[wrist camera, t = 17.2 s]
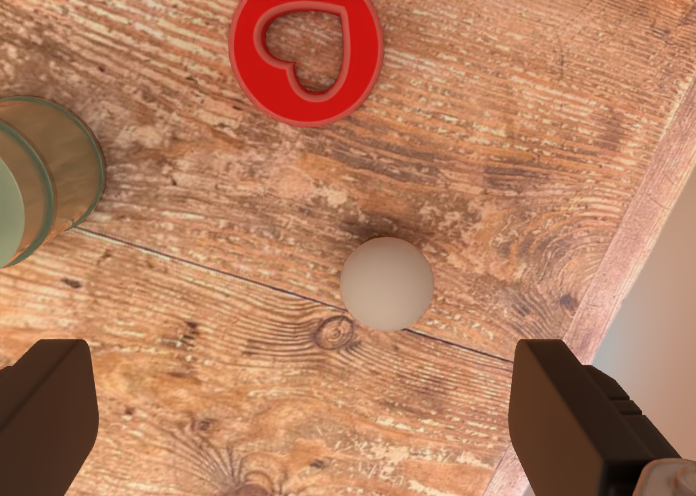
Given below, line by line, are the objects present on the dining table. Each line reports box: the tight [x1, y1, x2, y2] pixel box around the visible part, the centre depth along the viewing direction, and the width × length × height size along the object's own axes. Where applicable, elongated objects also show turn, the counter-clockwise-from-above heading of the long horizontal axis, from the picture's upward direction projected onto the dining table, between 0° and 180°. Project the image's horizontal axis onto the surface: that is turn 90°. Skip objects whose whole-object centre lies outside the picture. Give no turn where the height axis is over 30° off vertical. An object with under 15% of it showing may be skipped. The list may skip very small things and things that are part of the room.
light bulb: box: [340, 235, 434, 331], centre depth 40 cm, size 6×6×10 cm
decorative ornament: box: [228, 0, 384, 127], centre depth 38 cm, size 10×10×3 cm
